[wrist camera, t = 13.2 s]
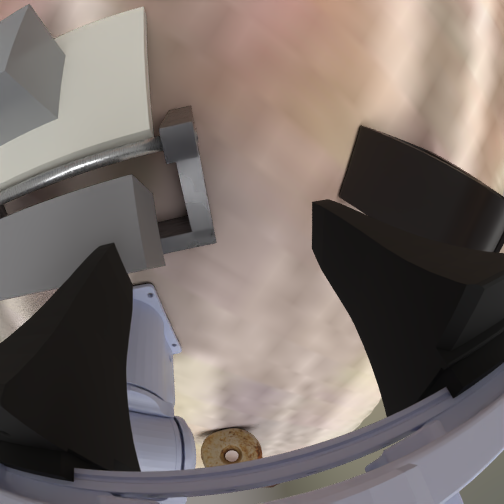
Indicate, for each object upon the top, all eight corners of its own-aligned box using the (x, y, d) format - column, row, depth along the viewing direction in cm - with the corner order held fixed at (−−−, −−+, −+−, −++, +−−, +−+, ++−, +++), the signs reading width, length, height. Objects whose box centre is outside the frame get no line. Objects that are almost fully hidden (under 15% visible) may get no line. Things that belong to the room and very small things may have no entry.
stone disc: (255, 421, 44) (268, 472, 36) (255, 428, 46) (267, 476, 38) (195, 430, 43) (203, 482, 35) (199, 436, 45) (207, 485, 37)
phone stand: (337, 195, 22) (432, 296, 13) (359, 123, 19) (486, 190, 9) (412, 210, 25) (498, 290, 15) (434, 153, 22) (536, 218, 12)
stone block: (58, 118, 11) (4, 70, 6) (-3, 147, 10) (-59, 118, 5) (65, 55, 11) (29, 3, 6) (7, 84, 10) (-35, 47, 5)
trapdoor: (183, 261, 15) (170, 263, 11) (-2, 300, 14) (-39, 308, 10) (154, 44, 15) (143, 6, 11) (-4, 110, 14) (-32, 91, 10)
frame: (214, 225, 22) (226, 285, 16) (22, 270, 20) (-7, 326, 14) (192, 105, 16) (194, 121, 11) (-19, 181, 15) (-67, 224, 9)
